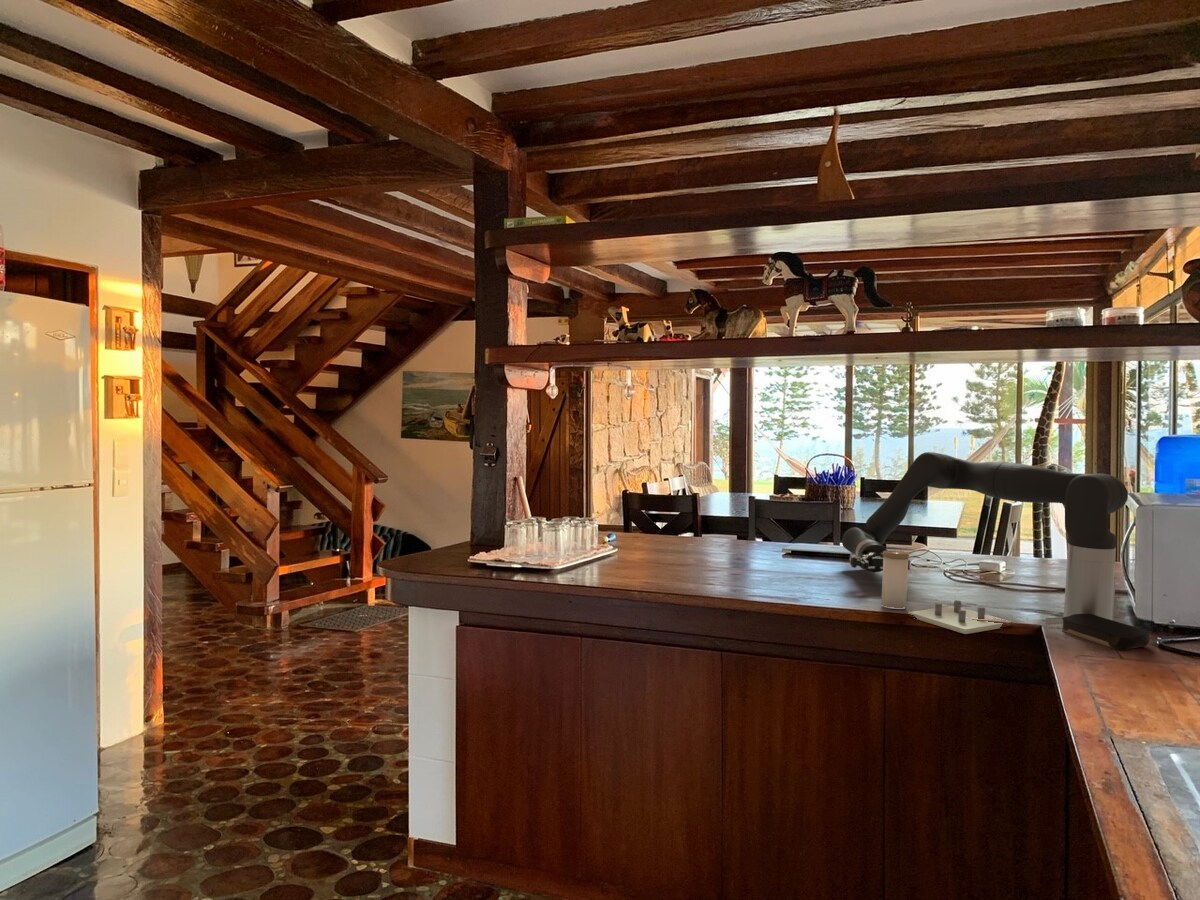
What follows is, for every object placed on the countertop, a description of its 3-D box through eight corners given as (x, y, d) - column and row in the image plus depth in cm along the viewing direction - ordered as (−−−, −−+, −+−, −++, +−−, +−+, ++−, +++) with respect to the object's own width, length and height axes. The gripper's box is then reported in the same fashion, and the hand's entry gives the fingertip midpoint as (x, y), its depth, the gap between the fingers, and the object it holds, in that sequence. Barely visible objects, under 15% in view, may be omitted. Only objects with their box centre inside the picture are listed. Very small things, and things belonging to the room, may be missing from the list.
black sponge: (1155, 651, 165) (1156, 633, 165) (1122, 653, 162) (1123, 635, 162) (1085, 628, 180) (1087, 612, 180) (1055, 630, 178) (1056, 614, 178)
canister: (892, 603, 198) (895, 549, 197) (912, 608, 193) (914, 553, 192) (875, 605, 196) (877, 551, 195) (894, 611, 190) (896, 555, 190)
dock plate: (953, 609, 193) (954, 595, 193) (1011, 626, 180) (1012, 610, 180) (908, 616, 186) (908, 601, 186) (965, 634, 173) (965, 617, 173)
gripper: (845, 540, 221) (856, 551, 205) (900, 542, 220) (915, 554, 204) (844, 567, 222) (854, 581, 206) (899, 570, 220) (914, 584, 204)
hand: (885, 567), depth 205 cm, fingers open, 8 cm apart
